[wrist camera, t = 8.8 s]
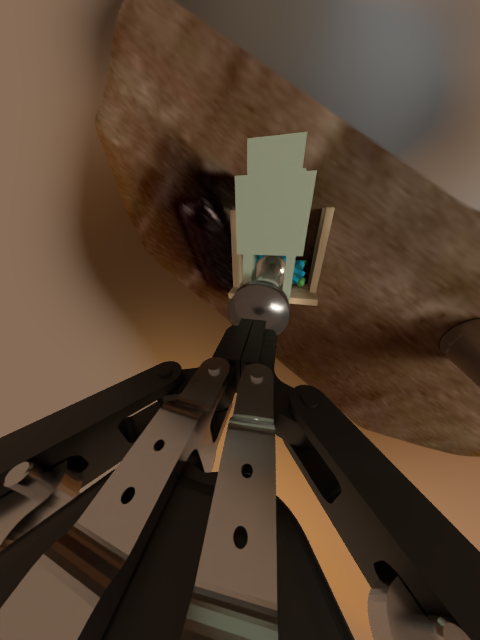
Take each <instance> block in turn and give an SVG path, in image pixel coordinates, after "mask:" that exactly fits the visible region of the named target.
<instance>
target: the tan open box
mask: <svg viewBox="0 0 480 640" xmlns="http://www.w3.org/2000/svg"><path fill="white" fill-rule="evenodd" d="M334 209H335V208H322V211H321V216H320V222H319V227H318V232H317V237H316V242H315V248H314V253H313V258H312V263H311V268H310V273H309V279H308V284H304V285H303V286H302V287H299V286H297V283H296V284H292V286H291V293H290V300H289V303H291V304H302V305H314V306H317V303H318V298H317V295H316V289H317V285H318V280H319V276H320V271H321V267H322V263H323V258H324V254H325V249H326V245H327V240H328V236H329V231H330V227H331V223H332V218H333V214H334ZM230 220H231V244H232V268H233V288H232V289H231V290H230V292H229V298H232V297H233V296H234V294H235V293H236V291H237V290H238V289H239V288H240V287H241V286H242V285H243V254H237V240H236V210H230ZM280 288H281V289H282V288H283V284H282V285H281V286H280Z"/></svg>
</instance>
